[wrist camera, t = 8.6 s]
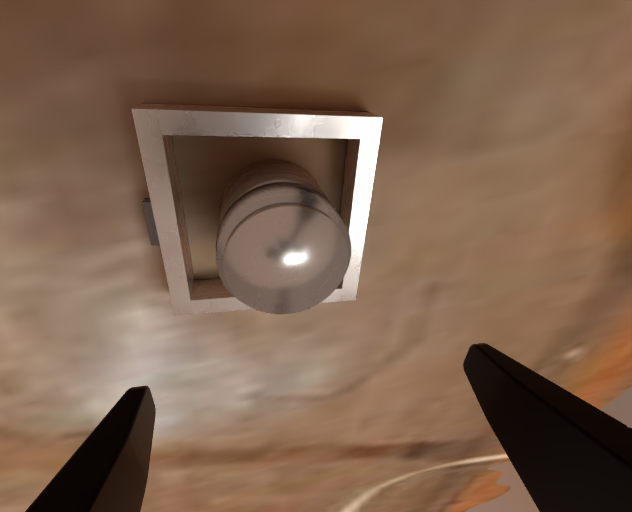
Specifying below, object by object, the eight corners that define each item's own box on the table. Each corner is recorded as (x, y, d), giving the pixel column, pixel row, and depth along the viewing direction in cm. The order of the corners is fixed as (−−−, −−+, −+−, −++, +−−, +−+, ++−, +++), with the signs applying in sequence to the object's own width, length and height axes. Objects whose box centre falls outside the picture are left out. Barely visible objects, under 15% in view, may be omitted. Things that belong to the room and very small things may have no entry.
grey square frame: (368, 111, 17) (382, 117, 16) (346, 282, 23) (355, 299, 21) (128, 102, 15) (115, 107, 13) (169, 295, 20) (163, 316, 19)
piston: (329, 159, 18) (365, 197, 13) (321, 254, 21) (347, 314, 16) (215, 157, 17) (206, 198, 12) (224, 258, 20) (220, 325, 15)
